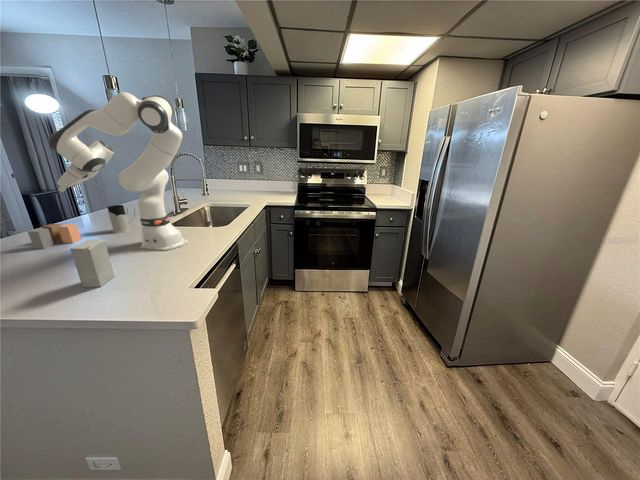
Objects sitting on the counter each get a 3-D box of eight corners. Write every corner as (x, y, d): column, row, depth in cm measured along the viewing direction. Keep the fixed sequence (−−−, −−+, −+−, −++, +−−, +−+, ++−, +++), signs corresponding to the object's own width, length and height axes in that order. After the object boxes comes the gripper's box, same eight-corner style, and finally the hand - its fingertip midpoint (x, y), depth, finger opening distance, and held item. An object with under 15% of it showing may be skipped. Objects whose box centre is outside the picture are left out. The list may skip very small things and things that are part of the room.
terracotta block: (81, 240, 139) (76, 224, 136) (73, 243, 135) (67, 226, 132) (72, 239, 139) (66, 224, 136) (63, 243, 135) (57, 226, 132)
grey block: (54, 245, 132) (48, 228, 129) (44, 248, 127) (37, 231, 124) (44, 245, 132) (38, 228, 129) (34, 248, 127) (27, 231, 124)
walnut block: (65, 239, 139) (60, 223, 136) (56, 243, 135) (50, 226, 132) (56, 239, 139) (50, 223, 136) (47, 243, 135) (41, 226, 132)
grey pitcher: (109, 231, 153) (102, 207, 148) (135, 225, 165) (129, 202, 160) (117, 234, 149) (110, 208, 144) (143, 227, 161) (137, 204, 156)
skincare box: (97, 277, 101) (85, 239, 95) (117, 276, 101) (106, 238, 96) (80, 288, 93) (66, 247, 87) (102, 287, 93) (89, 247, 88)
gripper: (89, 160, 131) (72, 178, 132) (65, 167, 113) (45, 188, 115) (102, 169, 134) (85, 187, 135) (80, 177, 116) (61, 198, 118)
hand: (66, 188), depth 125 cm, fingers open, 8 cm apart
